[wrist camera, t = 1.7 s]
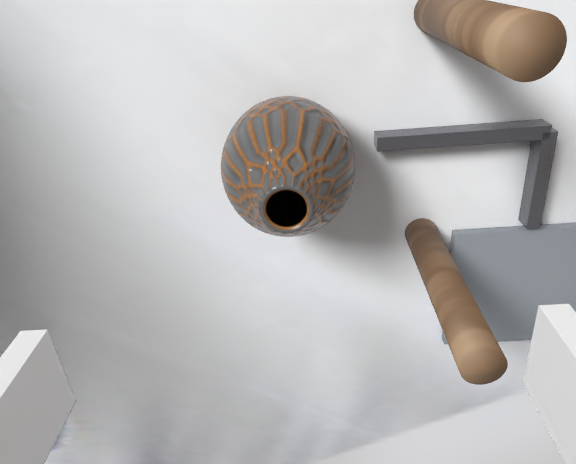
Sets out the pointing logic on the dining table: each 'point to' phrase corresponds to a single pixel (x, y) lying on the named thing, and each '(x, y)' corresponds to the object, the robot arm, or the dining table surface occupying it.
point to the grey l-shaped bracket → (490, 133)
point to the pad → (517, 273)
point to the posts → (422, 232)
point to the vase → (287, 166)
